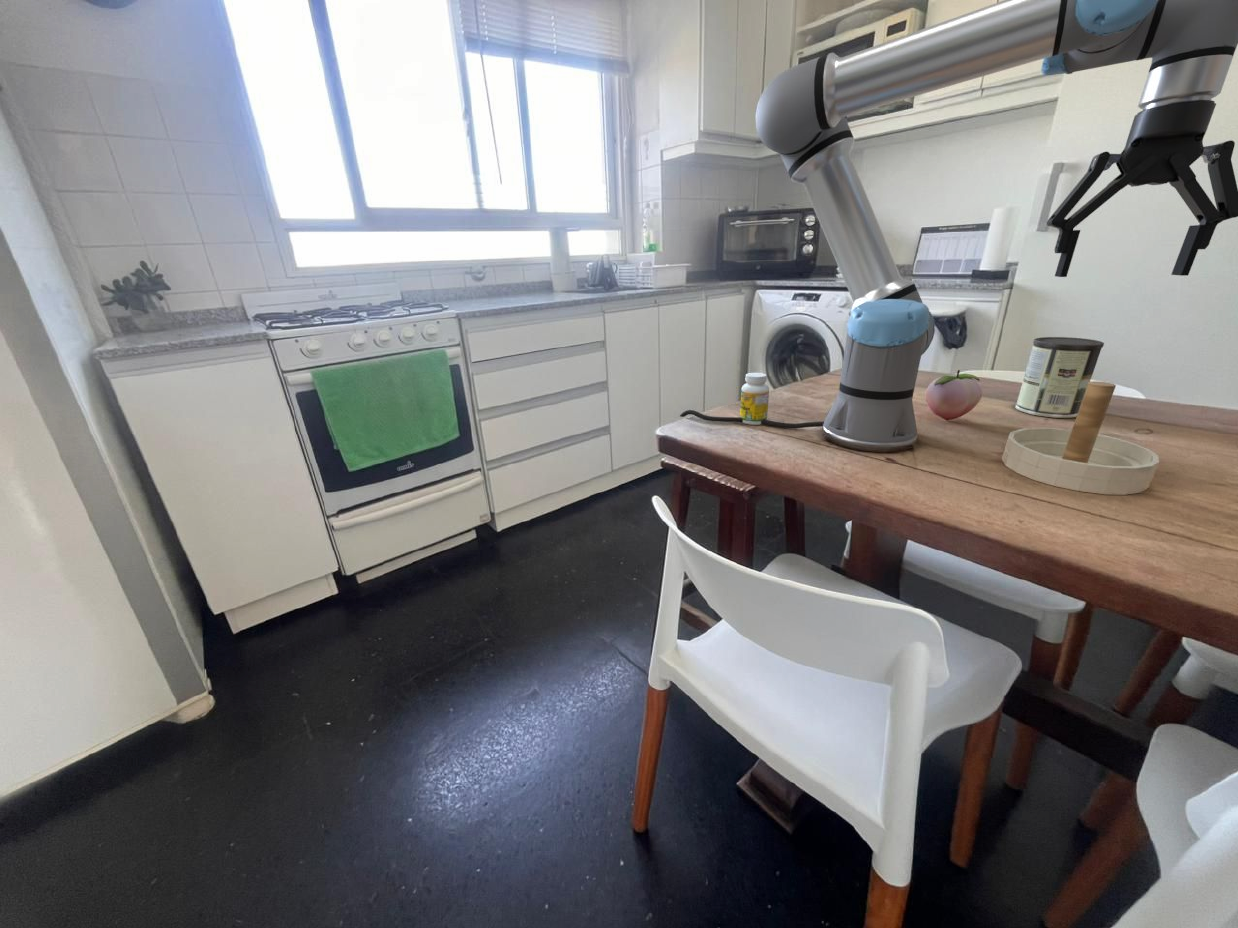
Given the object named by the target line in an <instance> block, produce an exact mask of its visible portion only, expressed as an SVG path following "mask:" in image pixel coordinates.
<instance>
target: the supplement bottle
mask: <svg viewBox="0 0 1238 928" xmlns="http://www.w3.org/2000/svg"><path fill="white" fill-rule="evenodd" d="M767 377H768V375H767V374H766V373H764V372H749V373H746V374H745V377H744V378H745V382H746V383H744V384H743V385H742V386H741V388H740V389H741V390H740V406H739V407H740V408H739V417H741V418H742V419H743V422H741V423H742V424H746V425H749V426H750V425H751V426H759V425H762V424H761V421H762V420H768V410H769V401H770V400H769V399H770V387H769V385H768V384H766V383H767V381H768V379H767Z"/></svg>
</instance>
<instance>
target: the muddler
mask: <svg viewBox="0 0 1238 928" xmlns="http://www.w3.org/2000/svg"><path fill="white" fill-rule="evenodd" d="M1116 387H1117V385H1116V384H1115V383H1112V382H1106V381H1094V380H1093V381H1090V382H1088V385H1087V388H1086V391H1085V394H1084V397H1083V400H1082V402H1081V405H1080V408H1079V411H1078V414H1077V417H1075V420H1074V423H1073V426H1072V429H1071V430H1072V431H1071V434H1070V437H1069V440H1068V443H1067V446H1066V449H1065V452H1064V455H1063V458H1061V459H1066V460H1071V461H1077V462H1082V463H1088V460H1089V458H1090V455H1091V452H1092V449H1093V447H1094V444H1095V441H1096V439H1097V436H1098V434H1100V430H1101V428H1102V425H1103V422H1104V419H1105V416H1106V414H1107V411H1108V408H1109V407H1110V403H1111V400H1112V398H1113V395H1114V392H1115V389H1116ZM1088 464H1090V463H1088Z"/></svg>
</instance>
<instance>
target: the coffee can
mask: <svg viewBox="0 0 1238 928" xmlns="http://www.w3.org/2000/svg"><path fill="white" fill-rule="evenodd" d="M1032 343H1033V344H1032V348H1031V351H1030V355H1029V358H1028V361H1027V366H1026V369H1025V373H1024V377H1023V380H1022V383H1021V387H1020V390H1019V394H1018V397H1017V401H1016V404H1015V406H1014V408H1015V409H1016V410H1017V411H1019V412H1022V413H1024V414H1029V415H1033V416H1038V417H1044V418H1053V419H1054V418H1055V419H1072V418H1076V417H1077V414H1078V411H1079V408H1080V405H1081V402H1082V400H1083V397H1084V394H1085V391H1086V388H1087V385H1088V382H1091V380H1092V377H1093V374H1094V371H1095V369H1096V365H1097V363H1098V360H1099V357H1100V355H1101V351H1102V348H1103V347H1104V346H1105V342H1103V341H1101V340H1097V339H1090V338H1081V337H1067V336H1045V337H1036V338H1034V339H1033V341H1032Z"/></svg>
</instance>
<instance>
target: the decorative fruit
mask: <svg viewBox="0 0 1238 928" xmlns="http://www.w3.org/2000/svg"><path fill="white" fill-rule="evenodd" d="M980 380H981V379H980V378H979V377H978V376H976V375H974V374H970V373H960V369H958V370H957V371H956V374H950V375H949V374H948V375H943V376H940V377H937V378H936V379H934V380H933V381H931V382H930V384H929V385H928V387H927V388H926V392H925V401H926V404H927V406H928V408H929V409H930V411H931V412H932V413H933V414H934V415H936V416H937V417H939V418H941V419H943V420H944V421H952V420H955V419H958V418H961V417H962V416H963V417H964V415H966V414H968V413H969V412H971V411H972V410H973V409H974V408H976V406H977V405H978V404H979V403H980V402H981V399H982V397H983V389H982V387H981V385H980V384H979V383H978V382H980ZM977 381H978V382H977Z"/></svg>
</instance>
